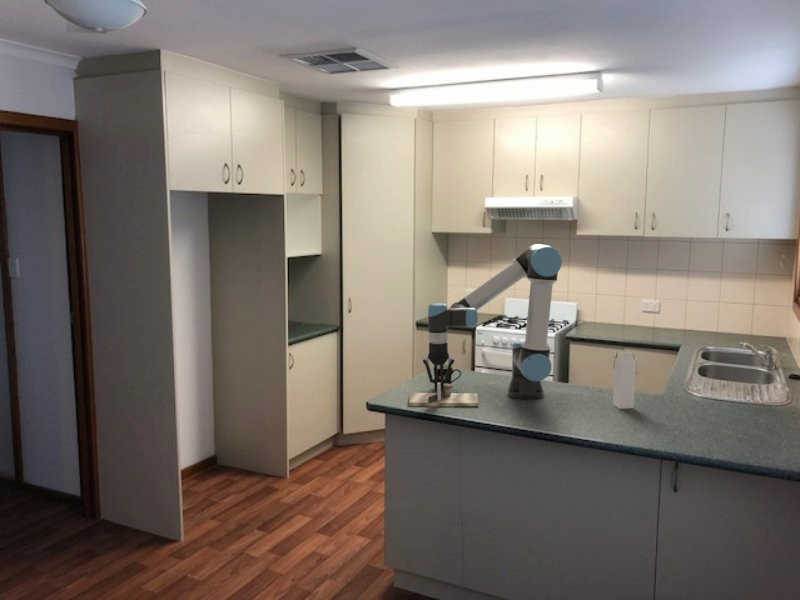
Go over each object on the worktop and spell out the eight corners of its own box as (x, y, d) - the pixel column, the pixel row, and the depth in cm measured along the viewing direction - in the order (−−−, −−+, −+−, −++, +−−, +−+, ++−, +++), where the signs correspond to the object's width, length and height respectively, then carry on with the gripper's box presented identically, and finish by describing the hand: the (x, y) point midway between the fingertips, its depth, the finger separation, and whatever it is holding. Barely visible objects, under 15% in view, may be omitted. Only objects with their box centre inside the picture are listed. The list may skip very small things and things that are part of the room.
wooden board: (476, 396, 276) (476, 393, 276) (478, 406, 262) (478, 402, 262) (410, 396, 278) (410, 392, 278) (409, 405, 264) (409, 402, 264)
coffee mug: (430, 389, 288) (429, 367, 286) (438, 385, 295) (438, 363, 294) (454, 393, 282) (454, 370, 281) (461, 388, 290) (461, 366, 288)
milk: (633, 408, 258) (636, 354, 255) (619, 409, 258) (621, 354, 255) (627, 403, 264) (629, 350, 261) (612, 404, 264) (615, 351, 261)
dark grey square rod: (454, 394, 273) (454, 384, 273) (435, 404, 260) (435, 394, 259) (443, 392, 276) (443, 382, 276) (423, 402, 262) (423, 392, 262)
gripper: (421, 344, 257) (423, 401, 261) (454, 343, 257) (455, 401, 260) (422, 340, 265) (423, 396, 268) (454, 339, 264) (455, 396, 267)
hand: (439, 399), depth 264 cm, fingers closed
